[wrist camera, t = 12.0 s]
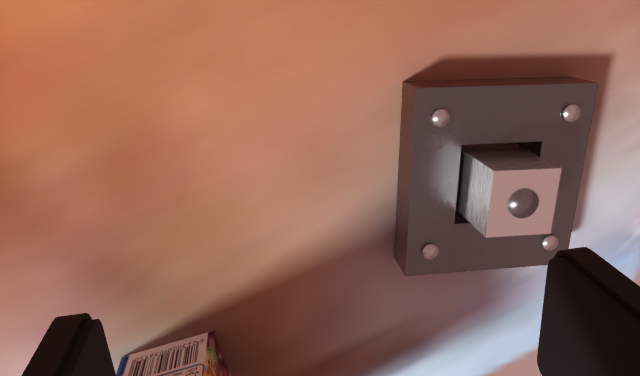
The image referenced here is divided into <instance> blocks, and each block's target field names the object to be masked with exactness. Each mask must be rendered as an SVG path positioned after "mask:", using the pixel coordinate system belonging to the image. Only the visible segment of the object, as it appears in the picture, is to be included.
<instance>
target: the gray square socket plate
mask: <svg viewBox="0 0 640 376" xmlns="http://www.w3.org/2000/svg"><path fill="white" fill-rule="evenodd" d="M597 85H598V83H596V82H591V81H587V80H582V79H578V78H574V77H556V78H519V79H482V80H444V81H407V82H403V89H402V109H401V129H400V149H399V169H398V190H397V210H396V230H395V250H394V258H395V260H396V261H397V263H398V265H399V266H400V268H401V270H402V271H403V273H404V275H405V276H410V275H423V274H436V273H448V272H461V271H474V270H487V269H500V268H513V267H525V266H538V265H548V262H549V261H550V259H552V258H554V257H555V254H556V253H557V252H558V251H560V250H566V249H568V248H569V242H570V237H571V231H572V225H573V220H574V214H575V209H576V203H577V197H578V192H579V186H580V181H581V175H582V169H583V164H584V158H585V152H586V147H587V141H588V136H589V130H590V124H591V119H592V113H593V108H594V102H595V96H596V91H597ZM516 142H519V146H520V147H522V148H524V149H526V150H528V151H530V152H531V153H533V154H535V155H537V156H539V157H541V158H543V159H545V160H547V161H549V162H551V163H553V164H555V165H557V166H558V167H560V168H562V169H561V175H560V181H559V187H558V193H557V199H556V204H555V210H554V216H553V222H552V228H551V233H550V234H537V235H520V236H504V237H487V238H485V237H484V236H483V235H482V234H481V233H480V232H479V231H478V230H477V229H476V228H475V227H474V226H473V225H472V224H471V223H470V222H469V221H468V220H467V219H466V218H465V217H464V216H463V215H462V214H461V213H460V212H459V211H457V210H456V199H457V188H458V178H459V167H460V156H461V145H471V144H493V143H516Z"/></svg>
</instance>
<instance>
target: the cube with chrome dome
mask: <svg viewBox="0 0 640 376" xmlns="http://www.w3.org/2000/svg"><path fill="white" fill-rule="evenodd" d="M561 169H562V168H560V167H558V166H557V165H555V164H553V163H551V162H549V161H547V160H545V159H543V158H541V157H539V156H537V155H535V154H533V153H531V152H530V151H528V150H526V149H524V148H522V147H520V146H518V145H516V144H514V143H493V144H471V145H461V156H460V167H459V178H458V188H457V199H456V210H457V211H459V212H460V213H461V214H462V215H463V216H464V217H465V218H466V219H467V220H468V221H469V222H470V223H471V224H472V225H473V226H474V227H475V228H476V229H477V230H478V231H479V232H480V233H481V234H482V235H483V236H484V237H485V238H487V237H504V236H520V235H537V234H550V233H551V228H552V222H553V216H554V210H555V204H556V199H557V193H558V187H559V181H560V175H561Z"/></svg>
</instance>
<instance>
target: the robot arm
mask: <svg viewBox="0 0 640 376" xmlns="http://www.w3.org/2000/svg"><path fill="white" fill-rule="evenodd" d="M537 363H538V367H539V370H540V372H541V374H542V376H640V286H638V285H637V284H636V283H634V282H633V281H632V280H630V279H629V278H628V277H626V276H625V275H624V274H622V273H621V272H620V271H618V270H617V269H616V268H614V267H613V266H612V265H610V264H609V263H608V262H606V261H605V260H604V259H603V258H601V257H600V256H599V255H597V254H596V253H595V252H593V251H592V250H591V249H589V248H587V247H581V248H574V249H566V250H560V251H558V252H557V253H556V254H555V257H554V258H552V259H550V261H549V262H548V268H547V277H546V285H545V294H544V303H543V311H542V320H541V329H540V338H539V346H538V355H537ZM22 376H116V374H115V371H114V367H113V363H112V359H111V356H110V352H109V348H108V345H107V341H106V337H105V333H104V330H103V326H102V323H101V321H100V320H99V319H94V320H92V318H91V316H90V315H89V314H87V313H83V314H76V315H68V316H60V317H56V318H55V319H54V320H53V322H52V323H51V325H50V327H49V329H48V330H47V332H46V334H45V336H44V337H43V339H42V341H41V343H40V344H39V346H38V348H37V350H36V351H35V353H34V355H33V357H32V358H31V360H30V362H29V364H28V365H27V367H26V369H25V371H24V373H23V374H22Z"/></svg>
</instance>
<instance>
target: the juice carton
mask: <svg viewBox="0 0 640 376" xmlns="http://www.w3.org/2000/svg"><path fill="white" fill-rule="evenodd" d="M116 376H230V373H229V370H228V368H227V365H226V363H225V360H224V357H223V355H222V352H221V350H220V347H219V344H218V342H217V339H216V337H215V334H214V331H210V332H207V333H203V334H200V335H196V336H193V337H189V338H186V339H182V340H179V341H175V342H172V343H168V344H165V345H162V346H158V347H155V348H151V349H148V350H144V351H141V352H137V353H134V354H130V355H127V356H123V357H122V359H121V362H120V365H119V368H118V371H117V374H116Z"/></svg>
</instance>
